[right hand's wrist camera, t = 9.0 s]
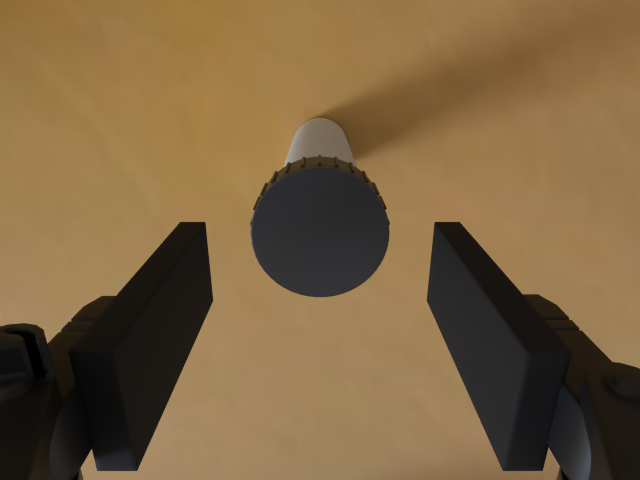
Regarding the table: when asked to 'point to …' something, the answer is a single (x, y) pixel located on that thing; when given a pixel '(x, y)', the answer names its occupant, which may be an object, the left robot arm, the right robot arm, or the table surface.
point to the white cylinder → (320, 141)
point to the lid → (320, 227)
